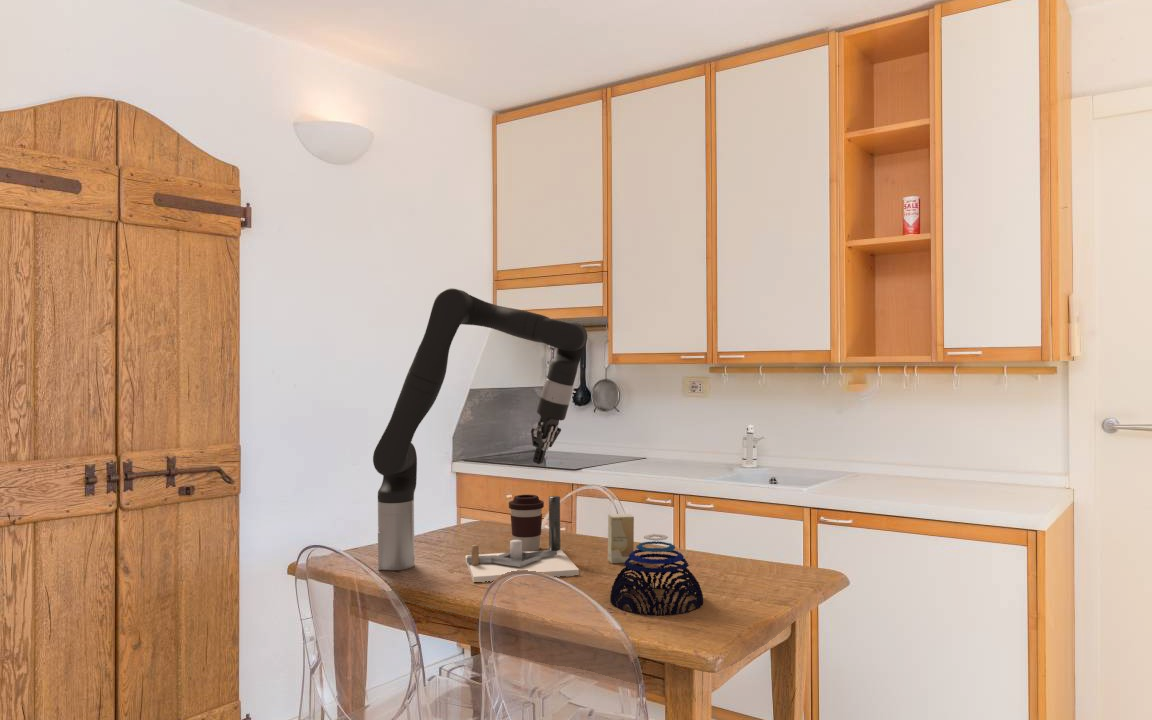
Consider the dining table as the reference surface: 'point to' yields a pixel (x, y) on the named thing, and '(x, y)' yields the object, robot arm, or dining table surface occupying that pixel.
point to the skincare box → (620, 537)
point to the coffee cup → (526, 520)
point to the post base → (549, 565)
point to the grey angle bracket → (534, 556)
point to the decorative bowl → (644, 585)
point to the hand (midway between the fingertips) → (537, 462)
